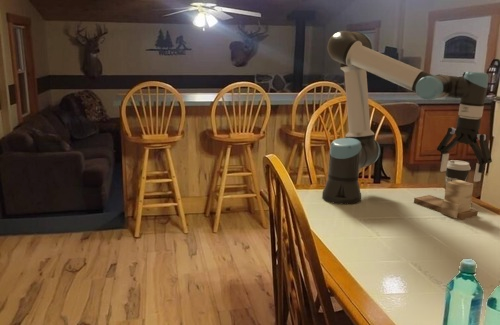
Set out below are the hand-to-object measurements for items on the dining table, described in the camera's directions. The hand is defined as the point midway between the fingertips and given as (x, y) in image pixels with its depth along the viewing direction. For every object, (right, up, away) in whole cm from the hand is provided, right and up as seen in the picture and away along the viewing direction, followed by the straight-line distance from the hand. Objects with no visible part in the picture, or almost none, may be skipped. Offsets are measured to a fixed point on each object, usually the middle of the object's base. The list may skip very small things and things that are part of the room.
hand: (459, 176), depth 168 cm
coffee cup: (+8, -10, +23) cm, 26 cm away
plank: (-2, -13, +9) cm, 16 cm away
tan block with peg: (+1, -14, +3) cm, 14 cm away
